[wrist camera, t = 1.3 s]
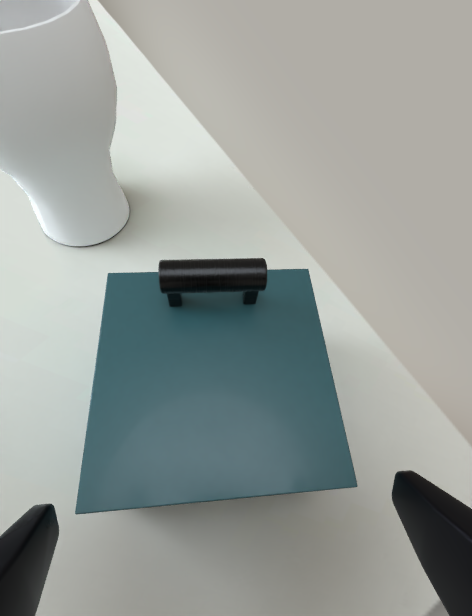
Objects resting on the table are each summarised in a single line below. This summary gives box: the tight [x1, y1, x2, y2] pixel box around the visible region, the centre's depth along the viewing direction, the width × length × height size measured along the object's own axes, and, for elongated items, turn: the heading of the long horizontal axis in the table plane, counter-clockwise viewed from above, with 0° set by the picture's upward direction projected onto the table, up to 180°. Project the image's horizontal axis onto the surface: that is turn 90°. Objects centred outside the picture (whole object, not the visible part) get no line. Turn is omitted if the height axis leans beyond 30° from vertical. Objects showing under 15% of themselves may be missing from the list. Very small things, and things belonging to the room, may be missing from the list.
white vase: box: [0, 0, 130, 246], centre depth 22 cm, size 11×11×15 cm
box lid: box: [75, 258, 357, 514], centre depth 14 cm, size 11×12×4 cm
